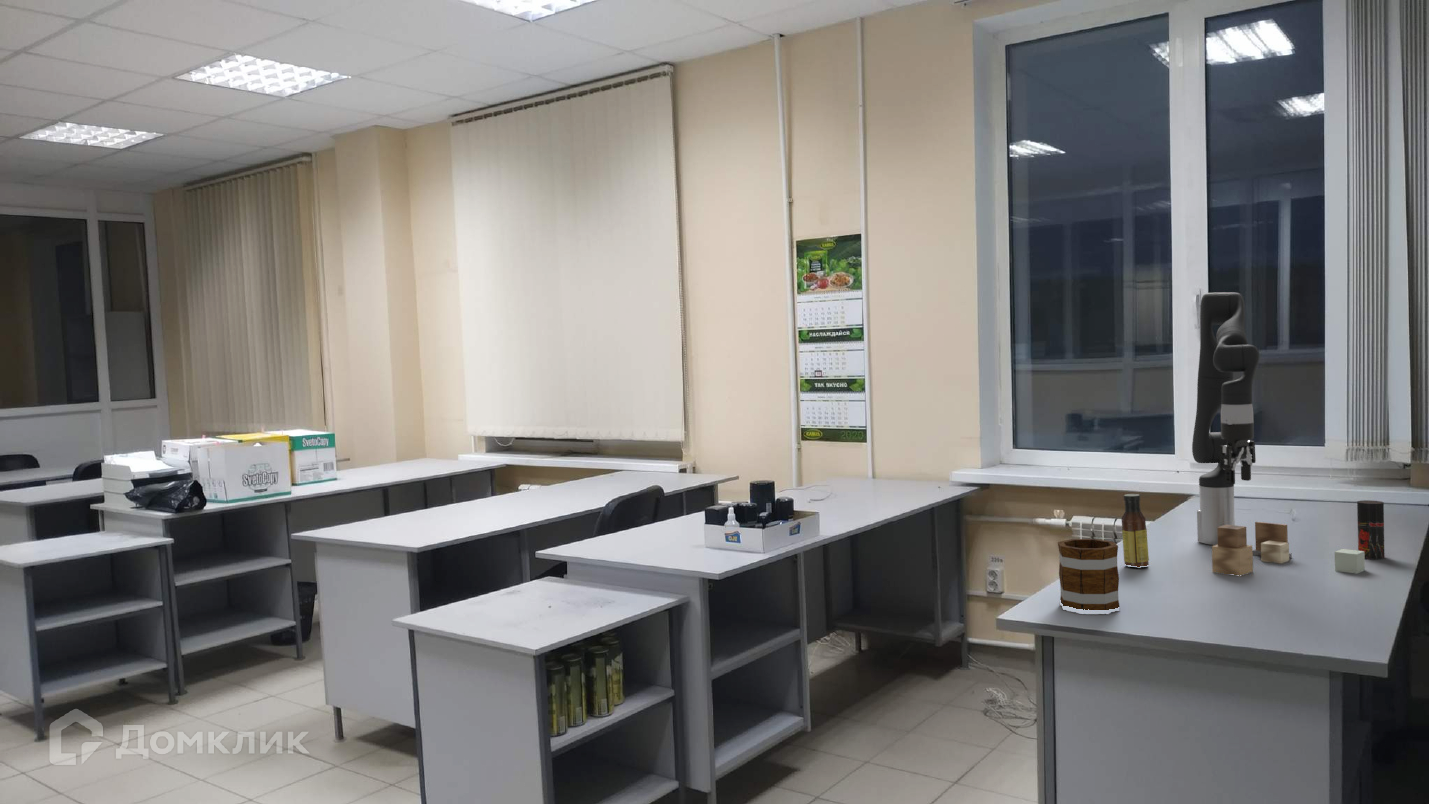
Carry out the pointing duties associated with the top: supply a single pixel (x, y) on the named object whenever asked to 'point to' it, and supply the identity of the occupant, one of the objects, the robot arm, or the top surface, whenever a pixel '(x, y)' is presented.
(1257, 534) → the walnut card
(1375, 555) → the deodorant
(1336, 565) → the sage painted cube
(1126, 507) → the sauce bottle
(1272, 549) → the birch cube
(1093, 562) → the mug
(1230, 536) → the walnut cube
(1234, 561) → the oak base block
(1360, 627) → the top surface
